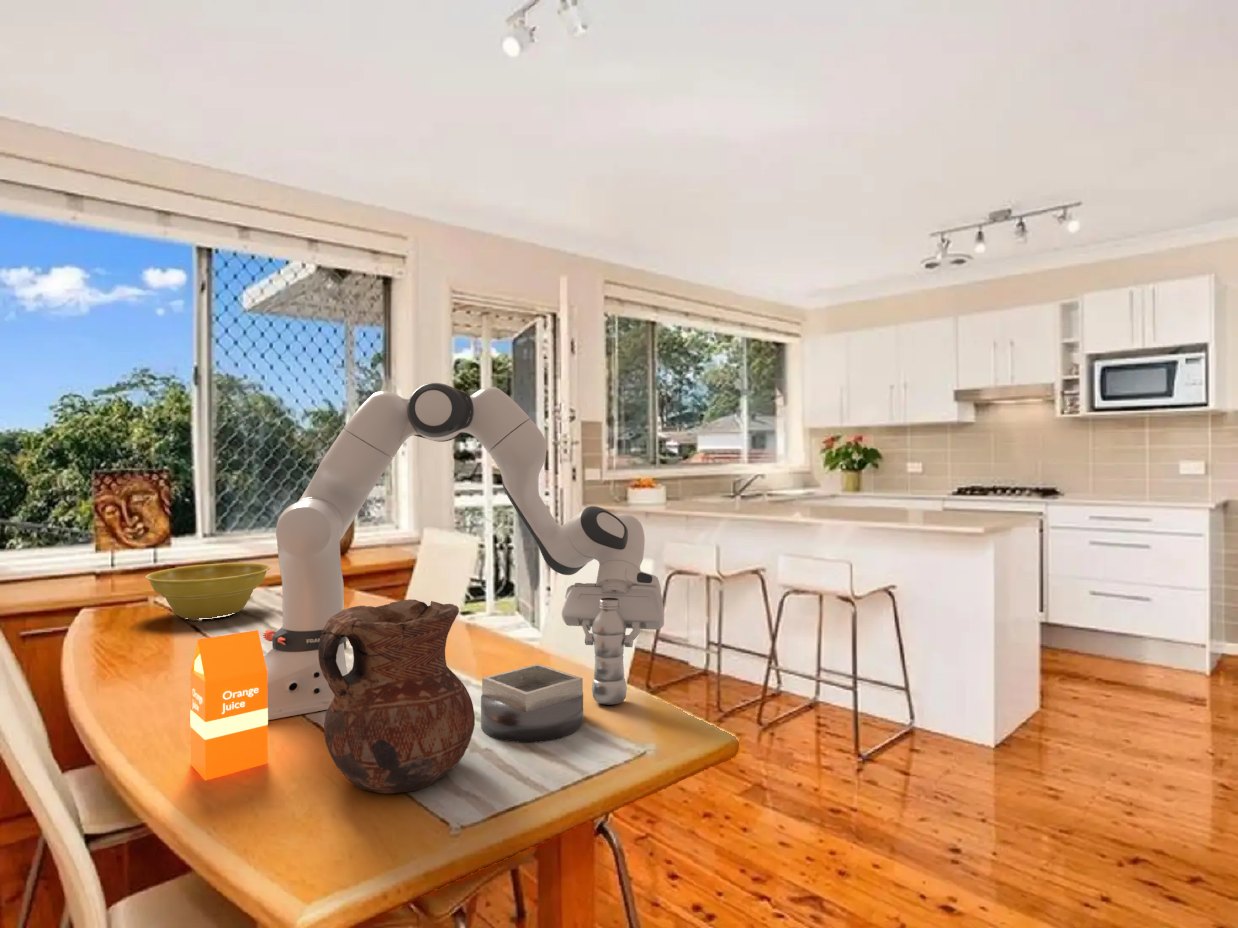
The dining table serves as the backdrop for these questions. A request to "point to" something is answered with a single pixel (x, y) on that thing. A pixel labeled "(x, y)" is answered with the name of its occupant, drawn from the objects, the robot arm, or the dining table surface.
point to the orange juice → (228, 705)
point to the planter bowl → (208, 588)
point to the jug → (395, 696)
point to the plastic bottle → (609, 653)
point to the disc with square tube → (531, 704)
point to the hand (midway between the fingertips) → (608, 644)
